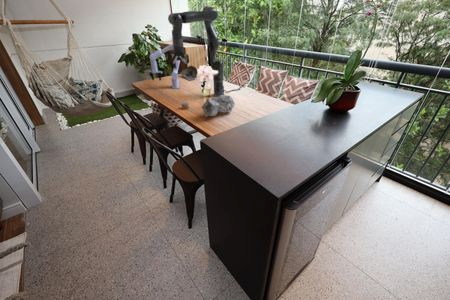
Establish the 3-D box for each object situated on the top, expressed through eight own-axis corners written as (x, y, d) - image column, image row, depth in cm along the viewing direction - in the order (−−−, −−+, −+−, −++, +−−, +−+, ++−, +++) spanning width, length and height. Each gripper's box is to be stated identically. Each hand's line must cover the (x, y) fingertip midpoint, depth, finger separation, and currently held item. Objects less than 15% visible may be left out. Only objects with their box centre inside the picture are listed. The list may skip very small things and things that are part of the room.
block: (182, 109, 176) (181, 104, 174) (183, 107, 180) (183, 102, 177) (187, 109, 175) (186, 104, 173) (188, 107, 179) (188, 102, 177)
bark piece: (202, 74, 255) (191, 66, 272) (199, 69, 248) (187, 61, 265) (192, 85, 255) (181, 76, 272) (188, 81, 249) (177, 72, 266)
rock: (218, 115, 147) (243, 104, 163) (206, 95, 147) (232, 87, 164) (208, 125, 160) (232, 114, 177) (197, 107, 161) (222, 98, 177)
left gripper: (145, 67, 207) (148, 81, 215) (159, 67, 206) (161, 81, 213) (148, 66, 213) (151, 79, 221) (162, 66, 212) (164, 79, 219)
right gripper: (167, 46, 148) (170, 69, 157) (186, 46, 146) (188, 69, 155) (170, 44, 154) (173, 67, 163) (188, 45, 152) (190, 67, 162)
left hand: (156, 80), depth 217 cm, fingers open, 7 cm apart
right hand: (180, 68), depth 159 cm, fingers open, 8 cm apart
